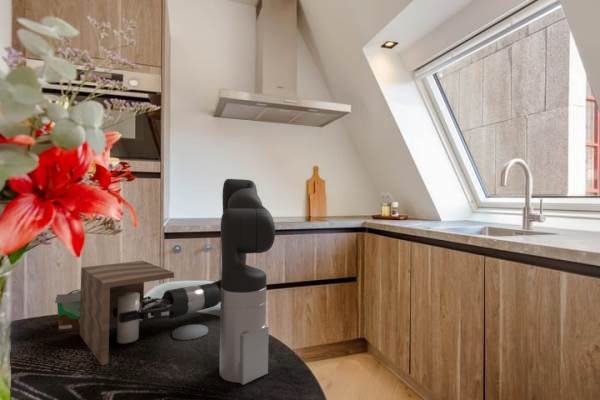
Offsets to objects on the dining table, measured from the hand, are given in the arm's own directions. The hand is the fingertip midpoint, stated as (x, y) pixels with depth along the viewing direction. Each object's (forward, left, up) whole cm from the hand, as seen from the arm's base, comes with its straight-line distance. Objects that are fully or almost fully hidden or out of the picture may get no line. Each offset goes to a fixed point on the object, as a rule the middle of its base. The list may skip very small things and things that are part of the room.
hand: (116, 315), depth 77 cm
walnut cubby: (0, -2, -7) cm, 7 cm away
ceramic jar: (0, -3, -7) cm, 7 cm away
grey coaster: (-7, -16, -7) cm, 18 cm away
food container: (+18, +3, -7) cm, 20 cm away
